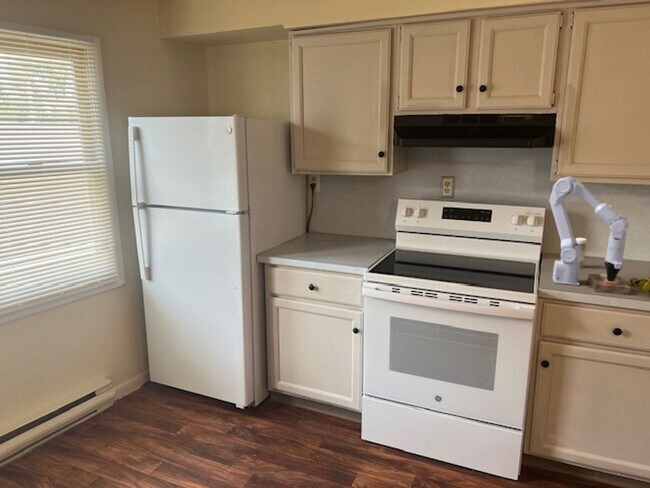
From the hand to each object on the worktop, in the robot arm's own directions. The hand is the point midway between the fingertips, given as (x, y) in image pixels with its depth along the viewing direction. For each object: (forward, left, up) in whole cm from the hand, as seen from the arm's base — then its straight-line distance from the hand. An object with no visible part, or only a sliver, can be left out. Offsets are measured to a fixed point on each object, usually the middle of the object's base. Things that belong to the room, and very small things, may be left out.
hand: (610, 280), depth 194 cm
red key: (0, 0, -2) cm, 2 cm away
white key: (0, +8, -2) cm, 8 cm away
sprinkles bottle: (-7, +32, -4) cm, 32 cm away
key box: (0, +3, -4) cm, 5 cm away
